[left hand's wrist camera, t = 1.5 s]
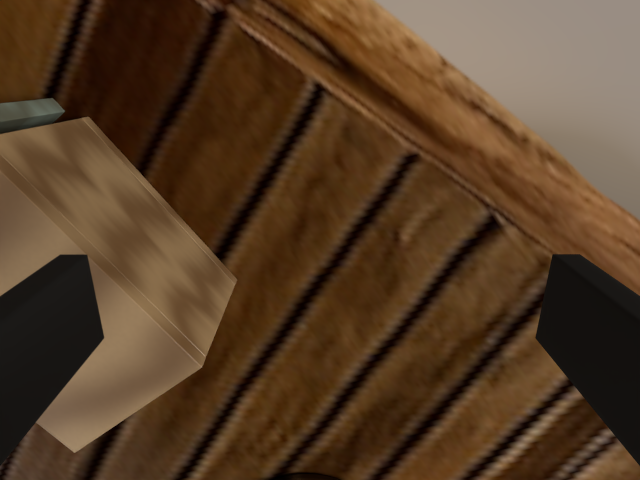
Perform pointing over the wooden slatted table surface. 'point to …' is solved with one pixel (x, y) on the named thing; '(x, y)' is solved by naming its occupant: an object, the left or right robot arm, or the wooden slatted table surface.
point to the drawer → (28, 114)
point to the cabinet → (109, 270)
